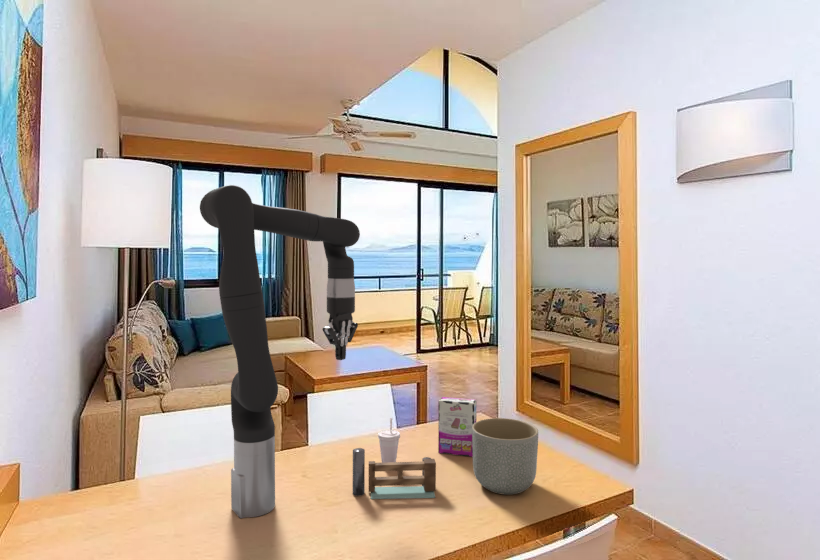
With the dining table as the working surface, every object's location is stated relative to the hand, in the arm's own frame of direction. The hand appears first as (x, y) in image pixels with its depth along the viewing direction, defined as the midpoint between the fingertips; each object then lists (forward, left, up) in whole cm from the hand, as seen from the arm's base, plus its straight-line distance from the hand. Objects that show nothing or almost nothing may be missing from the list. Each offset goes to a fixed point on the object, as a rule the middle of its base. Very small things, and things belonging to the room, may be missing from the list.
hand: (340, 359), depth 135 cm
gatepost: (-2, -12, -32) cm, 34 cm away
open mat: (+7, -18, -32) cm, 37 cm away
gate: (+8, -18, -31) cm, 37 cm away
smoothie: (+14, -3, -32) cm, 35 cm away
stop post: (+15, -19, -32) cm, 40 cm away
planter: (+31, -31, -32) cm, 54 cm away
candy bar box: (+37, -7, -32) cm, 50 cm away
